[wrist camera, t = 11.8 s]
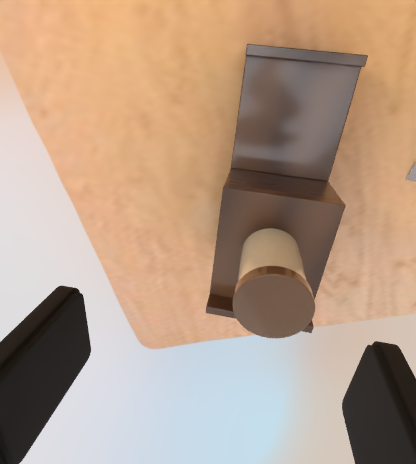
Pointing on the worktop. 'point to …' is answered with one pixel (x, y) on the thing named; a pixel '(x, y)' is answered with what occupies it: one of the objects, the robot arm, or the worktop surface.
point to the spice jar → (272, 286)
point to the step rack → (284, 160)
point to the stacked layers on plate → (412, 173)
